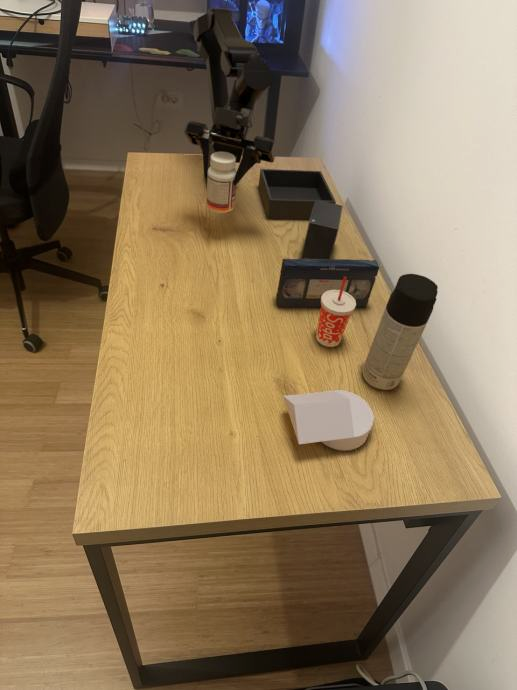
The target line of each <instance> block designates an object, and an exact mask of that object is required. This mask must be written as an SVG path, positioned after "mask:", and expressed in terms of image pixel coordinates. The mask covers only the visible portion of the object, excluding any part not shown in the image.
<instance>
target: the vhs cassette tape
mask: <svg viewBox="0 0 517 690" xmlns="http://www.w3.org/2000/svg"><path fill="white" fill-rule="evenodd" d="M379 270H380V266H379V263H378V261H377V259H372V260H371V259H350V258H349V259H348V258H347V259H345V258H343V259H342V258H341V259H340V258H338V259H337V258H335V259H330V260H328V259H301V258H282V261H281V267H280V272H279V273H280V274H279V279H278V280H279V281H278V284H277V291H276V296H275V298H276V304H277V307H279V308H321V297H322V295H323V293H325V292H326V291H329V290H340V289H341V286H342V282H343V278H344V276H346V277H347V278H346V282H345V285H344V289H343V291H344V292H347V293H348V294H350V295H351V296H352V297H353V298H354V299H355V301H356V306H355V308H365V307H367V306H368V303H369V301H370V297H371V294H372V291H373V288H374V285H375V283H376V280H377V276H378V273H379Z"/></svg>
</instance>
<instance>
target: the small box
mask: <svg viewBox="0 0 517 690" xmlns="http://www.w3.org/2000/svg"><path fill="white" fill-rule="evenodd" d="M343 208H344V207H343V205H342V204H337V203H336V204H333V203H328V202H324V201H320V200H316V201H315V204H314V207H313V211H312V214H311V217H310V220H308V225H307V230H306V235H305V239H304V244H303V248H302V253H301V257H300V259H328V260H332V255H333V251H334V248H335V245H336V240H337V238H338V234H339V229H340V223H341V218H342V213H343Z"/></svg>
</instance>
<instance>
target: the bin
mask: <svg viewBox="0 0 517 690" xmlns="http://www.w3.org/2000/svg"><path fill="white" fill-rule="evenodd" d="M257 187H258V191H259V194H260V198H261V202H262V205H263V208H264V211H265V215H266V219H267V220H291V221H309V220H310V217H311V214H312V211H313V207H314V204H315V201H316V200H320V201H324V202H328V203H333V204H337V201H336V198H335V197H334V195H333V193H332V191H331V189H330V187H329V184H328V183H327V181H326V179H325V176H324V175H323V173H322V171H321V170H299V169H277V168H276V169H275V168H260V170H259V179H258V186H257Z"/></svg>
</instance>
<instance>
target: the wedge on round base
mask: <svg viewBox="0 0 517 690" xmlns="http://www.w3.org/2000/svg"><path fill="white" fill-rule="evenodd" d="M282 397H283V400H284V403H285V406H286V409H287V412H288V415H289V418H290V421H291V425H292V427H293V430H294V434H295V437H296V439H297V443H298V445H306V444H312V443H322V444H323V445H325V446H327V447H329V448H330V449H333V450H337V451H344V452H345V451H352V450H357V448H359V447H361V446H362V445H363V444H364V443H365V442H366V441H367V438H368V436H369V435H370V431H371V429H372V427H373V424H374V420H375V419H374V417H375V416H374V412H373V410H372V408H371V405H369V403H368V402H367V401H366V400H365V399H364V398H362V397H361V396H359V395H358V394H355V393H354V392H351V391H349V390H348V391H347V390H342V389H334V390H333V389H332V390H325V391H316V392H307V393H295V394H287V395H282Z"/></svg>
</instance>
